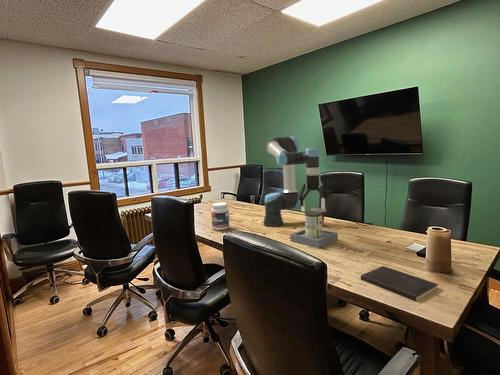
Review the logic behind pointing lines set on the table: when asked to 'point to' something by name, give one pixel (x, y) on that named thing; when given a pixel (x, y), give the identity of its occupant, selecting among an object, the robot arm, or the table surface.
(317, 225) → the coffee can
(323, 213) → the plastic cup
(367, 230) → the table surface
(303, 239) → the grey square tray
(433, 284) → the hardcover book
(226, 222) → the supplement tub
